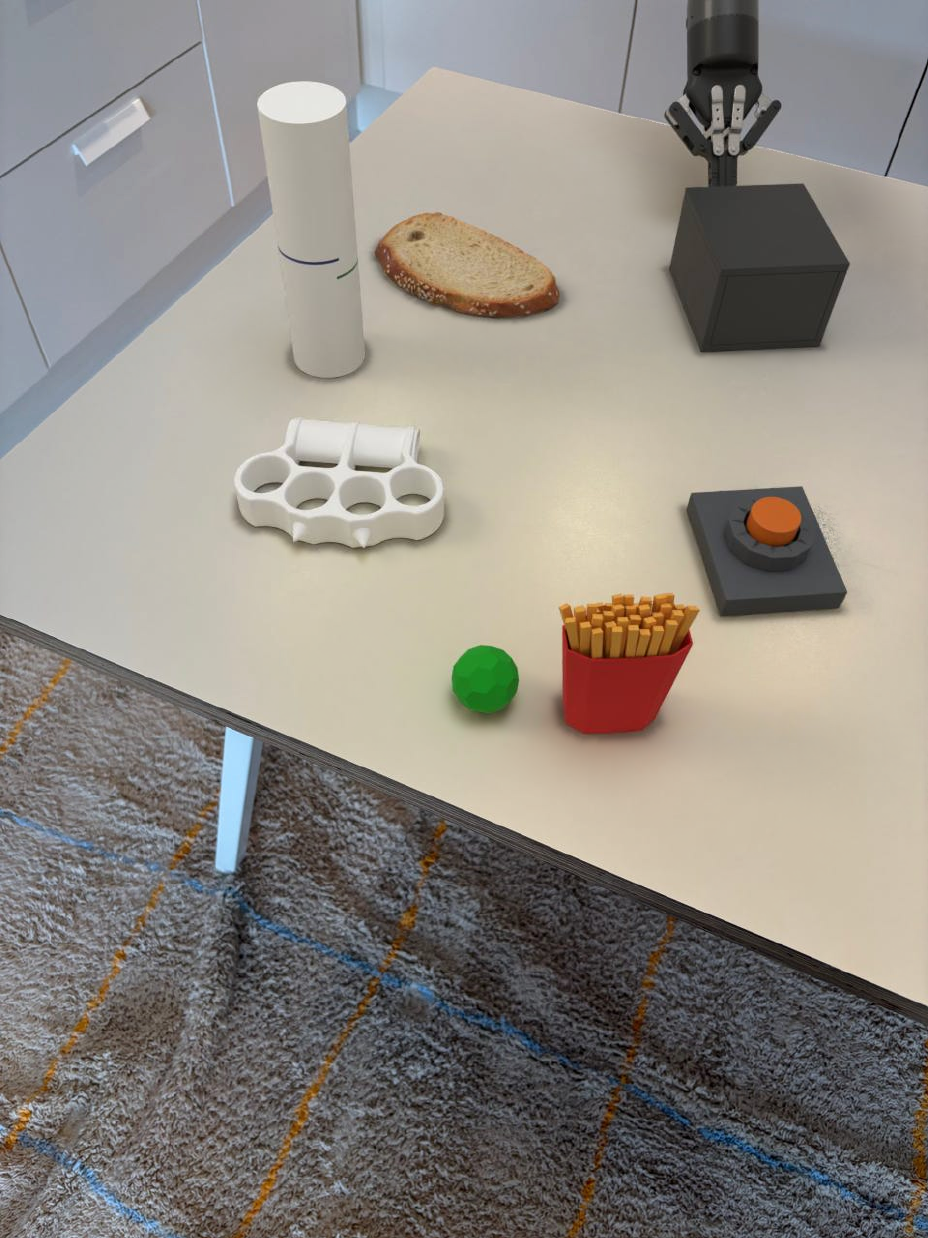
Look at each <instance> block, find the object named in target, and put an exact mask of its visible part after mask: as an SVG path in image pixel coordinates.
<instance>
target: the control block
mask: <svg viewBox="0 0 928 1238" xmlns="http://www.w3.org/2000/svg"><path fill="white" fill-rule="evenodd" d="M765 497H778V498H782V499H785V500H787V501H789V502H791V503H792V504H794V505H795V506H796V507H797V508H798V510H799V512H800V514H801V523H800V526H799V528H798V530H797V533H796V535H795V537H794V539H793V540H792V541H791V542H790V543H788V544H786V545H784V546H769V545H766V544H763V543H760V542H758V541H756V540H755V539H754V538H753V537H752V536H751V535H750V534H749V532H748V529H747V520H748V517H749V515H750V512H751V509H752V506H753V505H754V503H755V502H756V501H758V500H760V499H762V498H765ZM686 513H687V517H688V520H689V522H690V526H691V529H692V533H693V535H694V538H695V541H696V544H697V547H698V551H699V553H700V556H701V560H702V563H703V566H704V569H705V572H706V575H707V578H708V581H709V585H710V587H711V590H712V594H713V598H714V600H715V603H716V605H717V610H718V613H719V616H720V617H732V616H733V617H734V616H748V615H765V614H775V613H776V614H777V613H792V612H807V611H822V610H837V609H840V607H841V605H842V604H843V602H844V600H845V598H846V596H847V594H848V590H847V586H846V585H845V583H844V580H843V578H842V575H841V573H840V571H839V569H838V566H837V563H836V561H835V560H834V557H833V555H832V553H831V550H830V548H829V545H828V543H827V541H826V538H825V535H824V534H823V531H822V528H821V527H820V523H819V522H818V520H817V518H816V515H815V513H814V510H813V508H812V506H811V503H810V500H809V498H808V496H807V494H806V491H805V489H804V487H803V486H802V485H801V486H799V485H798V486H784V487H782V486H781V487H768V488H767V487H766V488H765V487H764V488H750V489H734V490H733V489H731V490H716V491H715V490H714V491H698V492H691V493H690V496H689V500H688V502H687V506H686Z"/></svg>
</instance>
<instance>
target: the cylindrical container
mask: <svg viewBox="0 0 928 1238" xmlns="http://www.w3.org/2000/svg"><path fill="white" fill-rule="evenodd" d="M256 107H257V112H258V119H259V127H260V134H261V141H262V148H263V154H264V161H265V167H266V169H265V170H266V175H267V182H268V188H269V189H268V190H269V195H270V203H271V209H272V217H273V223H274V230H275V237H276V244H277V251H278V257H279V258H278V259H279V264H280V271H281V272H280V273H281V278H282V286H283V292H284V297H285V298H284V299H285V306H286V313H287V319H288V327H289V334H290V340H291V347H292V355H293V361H294V363H295V365H296V367H297V368H298V369H299V370H300V371H302V372H303V373H305V374H306V375H309V376H311V377H316V378H321V379H334V378H340V377H344V376H347V375H349V374H351V373H353V372H355V371H356V370H358V369H359V368H360V367H361V366H362V364H363V363H364V361H365V357H366V349H365V336H364V335H365V334H364V323H363V322H364V321H363V309H362V295H361V281H360V267H359V266H360V265H359V255H358V252H359V251H358V242H357V240H358V239H357V227H356V214H355V203H354V189H353V186H354V185H353V175H352V174H353V173H352V163H351V160H352V159H351V148H350V146H351V145H350V134H349V133H350V132H349V121H348V108H347V98H346V96H345V94H344V93H343V92H342V90H340V89H338V88H337V87H335V86H332V85H330V84H327V83H322V82H318V81H308V80H303V81H291V82H285V83H281V84H278V85H275V86H273V87H270V88H268V89H267V90H266V91H264V92H262V93H261V95H260V96H259V97H258V99H257V106H256Z"/></svg>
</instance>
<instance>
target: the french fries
mask: <svg viewBox="0 0 928 1238" xmlns="http://www.w3.org/2000/svg"><path fill="white" fill-rule="evenodd" d="M638 601H639V602H635V595H634V594H622V593H618V594H613V595H611V602H603V601H601V602H596V603H586V607H585V606H584V605H583V604H581V605H578V606H575V607H573V610H572V607H571V605H570V604H569V602H565V603H564V604H562V605H560V606H558V610H559V613H560V617H561V620H562V622H563V625H561V651H562V652H561V664H562V665H561V667H562V668H561V669H562V670H561V671H562V673H561V674H562V675H561V676H562V682H561V683H562V684H561V685H562V688H561V689H562V691H561V692H562V707H563V713H564V718H565V724H566V725H567V726H569V727H571V728H573V729H575V730H577V731H578V732H580V733H582V734H584V735H586V734H587V735H589V734H590V735H591V734H592V735H593V734H595V735H598V734H599V735H601V734H616V733H617V734H619V733H632V732H633V733H634V732H642V731H643V730H644V729H646V728H647V727H648V726H649V725H650V724H651V723H652V722H653V721H654V720H656V718H657V716H658V714H659V712H660V711H661V708H662V706H663V705H664V703H665V700H666V699H667V697H668V694H669V693H670V690H671V688H672V687H673V685H674V683H675V681H676V679H677V677H678V675H679V673H680V671H681V669H682V667H683V665H684V663H685V661H686V660H687V657H688V655H689V653H690V651H691V650H692V648H693V646H694V642H693V638H692V634H691V630H690V629H691V627H692V625H693V623H694V622H695V620H696V619H697V616H698V614H699V612H700V610H701V609H700V608H699V607H698V606H697V605H686V606H685V605H684V604H683V603H682V604H675V593H673V592H664V593H659V594H654V595H653V598H652V597H651V596H642V595H641V596H640V598H639V600H638Z"/></svg>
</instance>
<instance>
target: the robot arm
mask: <svg viewBox="0 0 928 1238" xmlns="http://www.w3.org/2000/svg"><path fill="white" fill-rule="evenodd" d="M759 10H760V0H687V1H686V19H685V30H686V76H687V77H686V78H687V79H686V83H685V86H684V88H683V90H682V97H680V98H679V99H678V100H677V101H672V103H671V104H670V105H669V106H668V107H667V109H666V110H665V111H664V115H663V117H664V119H665V121H666V122H667V123H668V124H669V126H670V127H671V129H673V132H675V134H676V135H677V136H678V138H679V139H680V141H681V142H682V143H683V144H684V146H685V148H686V149H687V150H688V152H689V153H690V154H691V155H692V156H693V157H701V158H702V159H703V158H704V159H705V160H706V161H707V187H716V186H737V184H738V158H739V157H741V156H742V157H743V156H745V155H746V154H748V153H749V151H750V150H752V149H753V148H754V147H755V146H756V144H757V143H758V142H759V141H760V139H761V138H762V136H763V135H764V133H765V132H766V130H767V129H768V128H769V126H770V125H771V123H772V122H773V120H774V119H775V118H776V116H777V115H778V114H779V112H780V111H781V109H782V102H781V101H780V100H779V99H773V100H772V99H770V98H769V97H768V96H767V95H766V94H765V93H763V83H762V82H761V80H760V77H759V65H760V63H759V62H760V61H759V54H760V53H759V51H760V50H759V49H760V48H759V47H760V46H759V45H760V43H759V34H760V33H759V31H760V30H759V29H760V28H759V27H760V25H759V23H760V22H759V21H760V18H759V17H760V14H759ZM754 106H755V109H754V113H753V115H754V118H755V119H756V120H755V121H754V123H753V124H752V126H751V127H750V128H749V130H748V131H747V132H746V134H745V135H744V137H743V138H742V140H741V134H742V131H743V125H744V121H745V120H746V119H747V117H748V115H749V114H750V113H751V111H752V109H753V108H754ZM692 113H693V116H694V117H695V119H696V120H697V121H698V123H699V124H700V125H702V131H701V129H700V128H699V127H698V126H697V124H696V123H695V122H694V120H693V119H692V118H691V114H692Z"/></svg>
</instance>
